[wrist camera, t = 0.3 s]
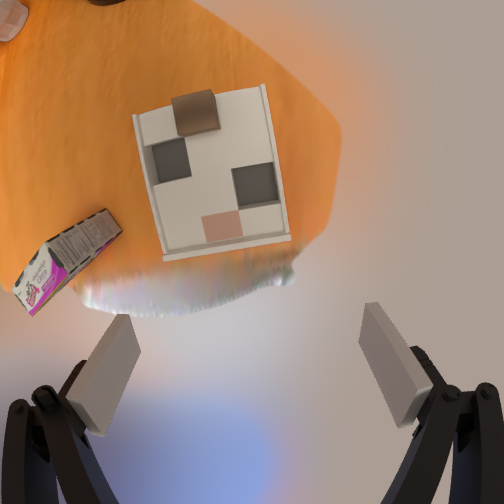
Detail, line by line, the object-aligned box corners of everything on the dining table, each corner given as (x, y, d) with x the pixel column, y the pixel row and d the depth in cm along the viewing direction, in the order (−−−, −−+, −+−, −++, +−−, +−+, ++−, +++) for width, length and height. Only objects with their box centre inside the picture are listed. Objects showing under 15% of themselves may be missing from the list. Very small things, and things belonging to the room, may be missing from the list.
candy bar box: (85, 269, 43) (31, 319, 28) (68, 246, 41) (9, 289, 26) (125, 231, 41) (68, 276, 25) (106, 206, 39) (42, 240, 24)
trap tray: (143, 117, 35) (129, 114, 30) (263, 90, 34) (264, 82, 29) (172, 249, 42) (163, 261, 37) (286, 229, 41) (291, 240, 36)
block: (180, 104, 32) (171, 98, 28) (214, 96, 32) (210, 89, 27) (186, 136, 33) (177, 135, 29) (221, 129, 33) (217, 126, 29)
